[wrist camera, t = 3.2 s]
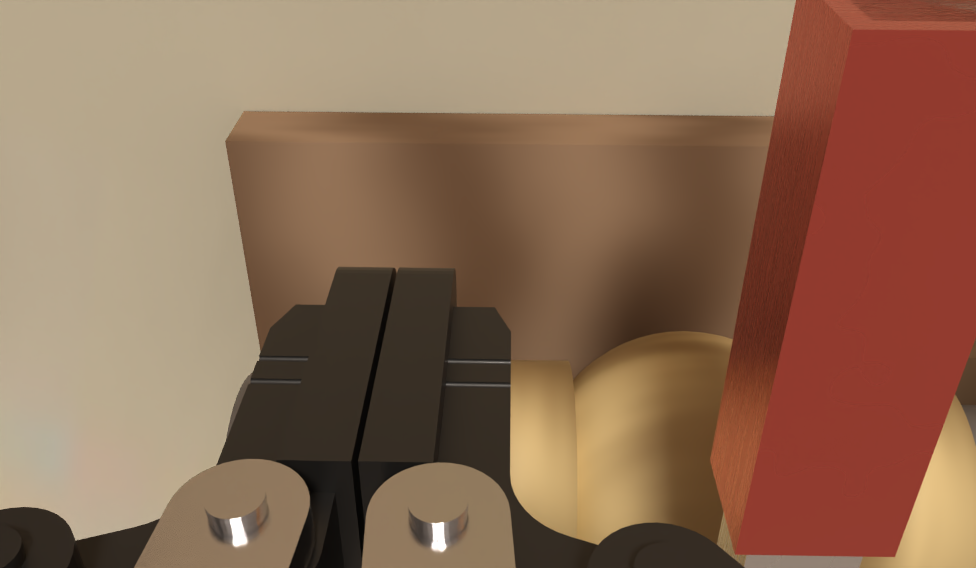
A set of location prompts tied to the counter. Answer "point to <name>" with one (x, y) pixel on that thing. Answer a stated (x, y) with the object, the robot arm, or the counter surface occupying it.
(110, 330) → the counter surface
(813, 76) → the valve lever
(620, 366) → the valve rig
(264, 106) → the counter surface
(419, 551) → the robot arm
